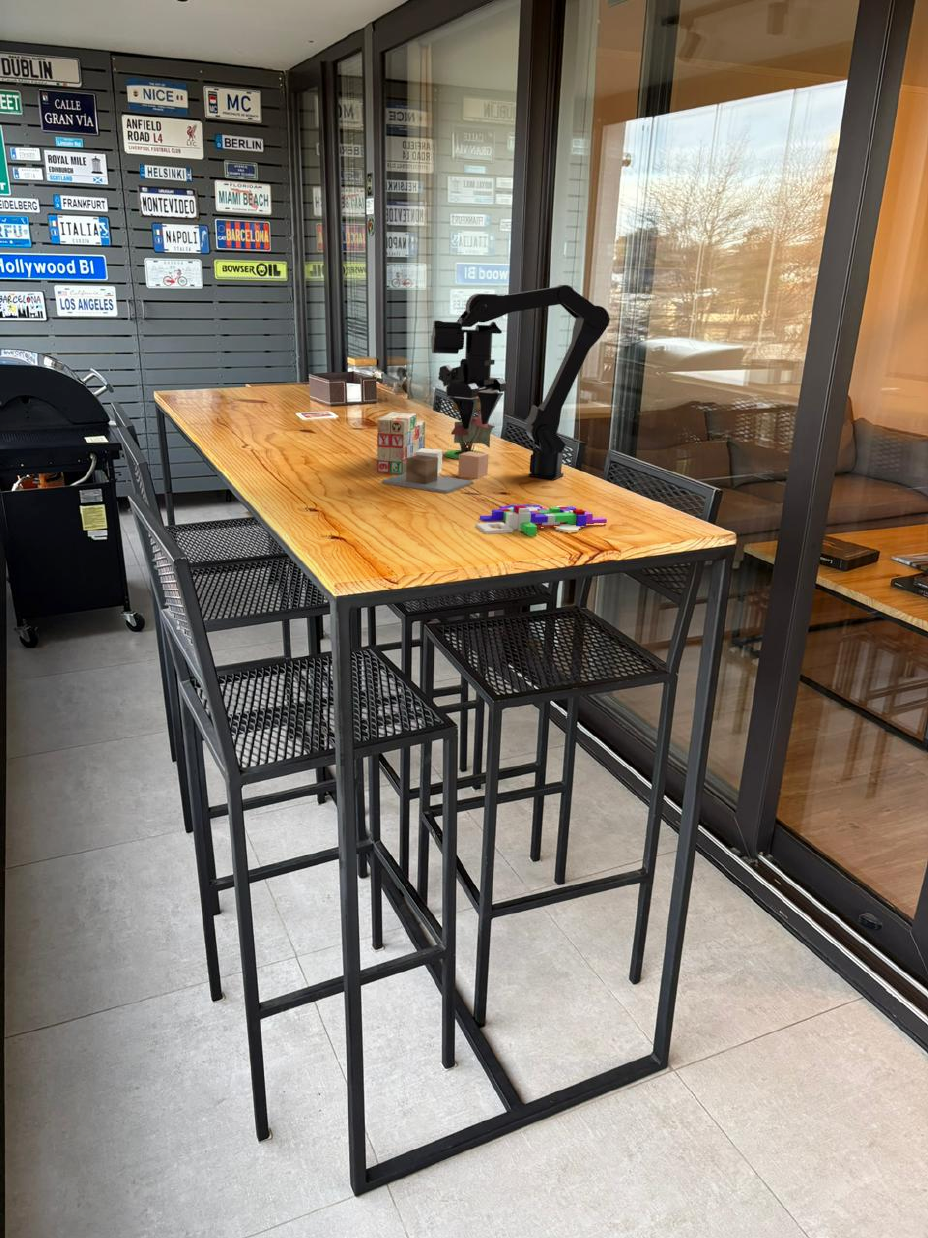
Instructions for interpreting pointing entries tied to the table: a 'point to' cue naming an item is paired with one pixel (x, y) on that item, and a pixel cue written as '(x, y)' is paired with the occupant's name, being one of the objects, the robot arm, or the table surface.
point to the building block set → (537, 519)
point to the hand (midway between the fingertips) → (475, 426)
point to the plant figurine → (470, 433)
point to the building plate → (439, 486)
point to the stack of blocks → (398, 441)
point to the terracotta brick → (473, 465)
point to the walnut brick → (421, 469)
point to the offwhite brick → (432, 455)
